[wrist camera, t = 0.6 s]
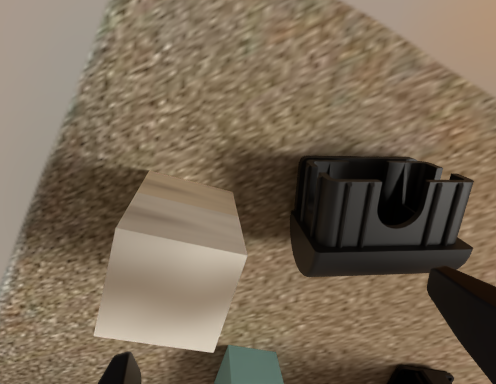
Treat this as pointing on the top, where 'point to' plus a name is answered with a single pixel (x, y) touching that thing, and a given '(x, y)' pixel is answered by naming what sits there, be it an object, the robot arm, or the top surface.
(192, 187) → the tower bottom block
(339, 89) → the top surface
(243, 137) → the top surface
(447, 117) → the top surface
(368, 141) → the top surface
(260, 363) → the teal block
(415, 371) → the robot arm
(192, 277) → the tower middle block
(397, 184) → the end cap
